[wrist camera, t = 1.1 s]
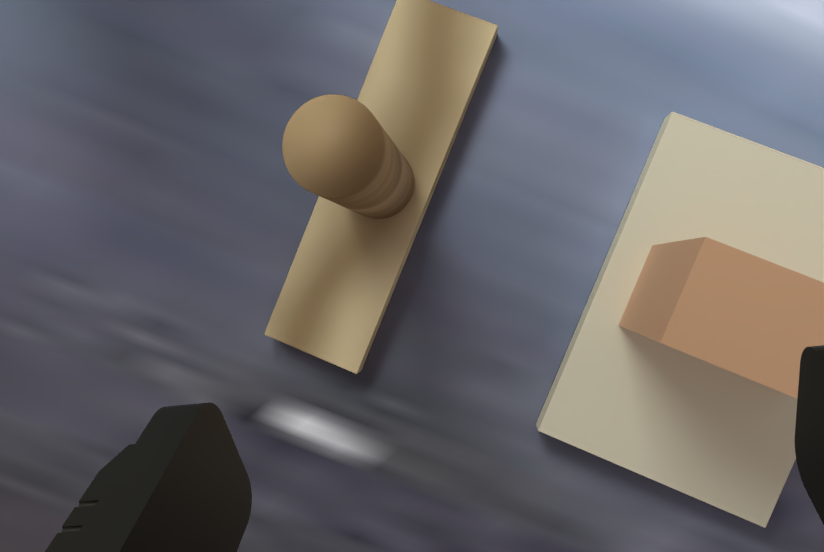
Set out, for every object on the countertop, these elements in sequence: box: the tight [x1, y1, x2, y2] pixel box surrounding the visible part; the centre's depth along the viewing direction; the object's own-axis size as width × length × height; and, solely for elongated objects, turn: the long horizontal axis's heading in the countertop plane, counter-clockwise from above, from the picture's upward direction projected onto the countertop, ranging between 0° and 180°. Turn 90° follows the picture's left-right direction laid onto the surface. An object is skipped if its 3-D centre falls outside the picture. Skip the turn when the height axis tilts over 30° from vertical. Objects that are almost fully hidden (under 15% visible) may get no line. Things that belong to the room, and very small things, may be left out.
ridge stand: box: [536, 112, 824, 528], centre depth 29 cm, size 11×16×10 cm
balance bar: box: [265, 0, 498, 374], centre depth 30 cm, size 5×18×12 cm, turn 158°
